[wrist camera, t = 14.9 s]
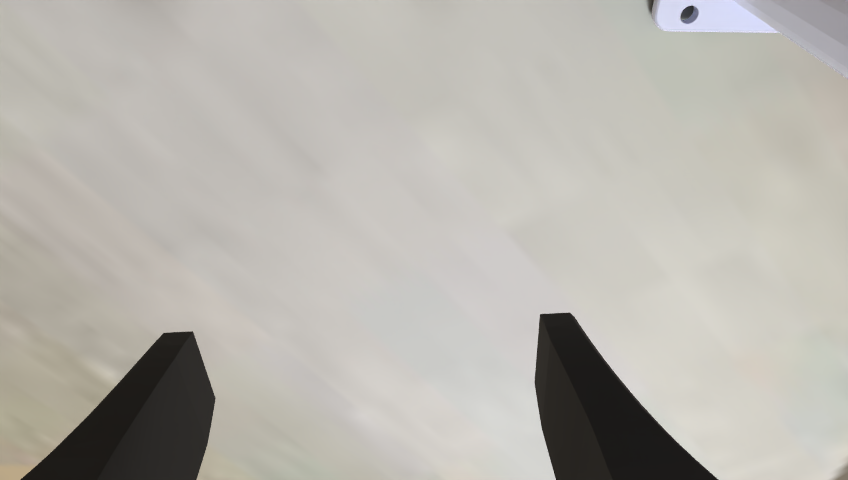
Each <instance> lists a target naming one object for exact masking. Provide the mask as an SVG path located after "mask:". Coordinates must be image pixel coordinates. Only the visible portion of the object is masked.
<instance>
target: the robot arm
mask: <svg viewBox="0 0 848 480" xmlns="http://www.w3.org/2000/svg"><path fill="white" fill-rule="evenodd" d="M691 5H692V6H694V11H693V13H692V15H691V16H690V17H689V18H688V19H685V20H681V19H680V14H681V12H682V11H683V9H685V8H686V7H687V6H691ZM652 19H653V22H654V23H655V24H656V25H657V26H658V27H659V28H660V29H661V30H665V31H686V32H763V33H781V34H782V35H784V36H785V37H787V38H788V39H790V40H791V41H792V42H794V43H795V44H797V45H798V46H800V47H801V48H803V49H804V50H806V51H807V52H809V53H810V54H812V55H813V56H814V57H816V58H817V59H819V60H820V61H822V62H823V63H825V64H826V65H828V66H829V67H831V68H832V69H833V70H835V71H836V72H838V73H839V74H841V75H842V76H844V77H845V78H847V79H848V0H654V3H653V8H652ZM535 388H536V395H537V401H538V408H539V414H540V420H541V426H542V430H543V434H544V438H545V441H546V445H547V449H548V452H549V456H550V460H551V463H552V467H553V470H554V474H555V477H556V480H718V479H717V478H716V477H715V476H713V475H712V474H711V473H710V472H709V471H708V470H707V469H706V468H704V467H703V466H702V465H701V464H700V463H699V462H698V461H696V460H695V459H694V458H693V457H692V456H691V455H690V454H689V453H688V452H687V451H686V450H685V449H684V448H683V447H682V446H681V445H679V444H678V443H677V442H676V441H675V440H674V439H673V438H672V437H671V436H670V435H669V434H668V433H667V432H666V431H665V430H664V428H663V427H662V426H661V425H660V424H659V423H658V422H657V421H656V420H655V419H654V418H653V417H652V416H651V415H650V414H649V412H648V411H647V410H646V409H645V408H644V407H643V406H642V405H641V404H640V402H639V401H638V400H637V399H636V398H635V397H634V396H633V394H632V393H631V392H630V391H629V390H628V388H627V387H626V386H625V385H624V384H623V382H622V381H621V380H620V379H619V377H618V376H617V375H616V374H615V373H614V371H613V370H612V369H611V368H610V366H609V365H608V364H607V362H606V361H605V360H604V358H603V357H602V356H601V354H600V353H599V352H598V350H597V349H596V348H595V346H594V345H593V344H592V342H591V341H590V339H589V338H588V336H587V335H586V334H585V332H584V331H583V329H582V328H581V326H580V325H579V323H578V322H577V320H576V319H575V317H574V316H573V315H572V314H571V313H555V314H540V322H539V335H538V347H537V360H536V372H535ZM214 404H215V396H214V393H213V390H212V387H211V384H210V381H209V378H208V375H207V372H206V369H205V366H204V363H203V360H202V357H201V354H200V351H199V348H198V345H197V342H196V339H195V336H194V333H193V332H173V333H163V334H162V335H161V337H160V338H159V339H158V340H157V341H156V342H155V343H154V344H153V345H152V346H151V347H150V348H149V350H148V351H147V352H146V353H145V354H144V355H143V356H142V357H141V359H140V360H139V361H138V362H137V363H136V364H135V365H134V366H133V368H132V369H131V370H130V371H129V372H128V373H127V374H126V375H125V377H124V378H123V379H122V380H121V381H120V382H119V383H118V384H117V385H116V387H115V388H114V389H113V390H112V391H111V392H110V393H109V394H108V395H107V396H106V397H105V398H104V399H103V401H102V402H101V403H100V404H99V405H98V406H97V407H96V408H95V409H94V410H93V411H92V412H91V413H90V414H89V415H88V417H87V418H86V419H85V420H84V421H83V422H82V423H81V424H80V425H79V426H78V427H77V428H76V429H75V430H74V431H73V432H72V433H71V434H69V435H68V436H67V437H66V438H65V439H64V440H63V441H62V442H61V443H60V444H59V445H58V446H57V447H56V448H55V449H54V450H53V451H52V452H51V453H50V454H49V455H48V456H47V457H46V458H45V459H43V460H42V461H41V462H40V463H39V464H38V465H37V466H36V467H35V468H33V469H32V470H31V471H30V472H29V473H28V474H26V475H25V476H24V477H23V478H22V479H21V480H196V479H197V476H198V473H199V469H200V466H201V463H202V460H203V457H204V453H205V450H206V447H207V443H208V438H209V433H210V427H211V422H212V416H213V410H214Z"/></svg>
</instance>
